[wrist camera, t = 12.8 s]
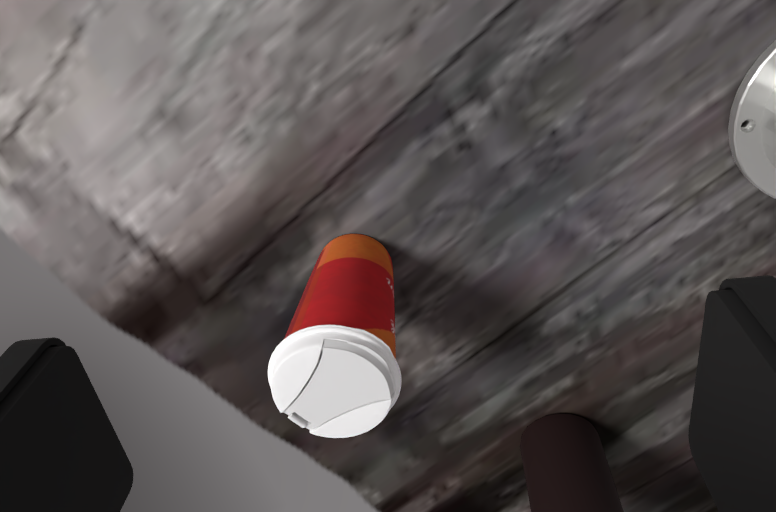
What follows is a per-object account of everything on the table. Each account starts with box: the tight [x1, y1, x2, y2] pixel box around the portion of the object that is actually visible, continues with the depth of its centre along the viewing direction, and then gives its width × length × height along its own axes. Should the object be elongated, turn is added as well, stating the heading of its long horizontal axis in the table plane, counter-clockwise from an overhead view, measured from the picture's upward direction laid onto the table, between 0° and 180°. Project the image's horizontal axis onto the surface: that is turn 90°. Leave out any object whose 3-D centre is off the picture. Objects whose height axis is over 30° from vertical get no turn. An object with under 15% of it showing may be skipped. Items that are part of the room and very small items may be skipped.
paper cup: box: [268, 234, 401, 438], centre depth 41 cm, size 8×8×14 cm
